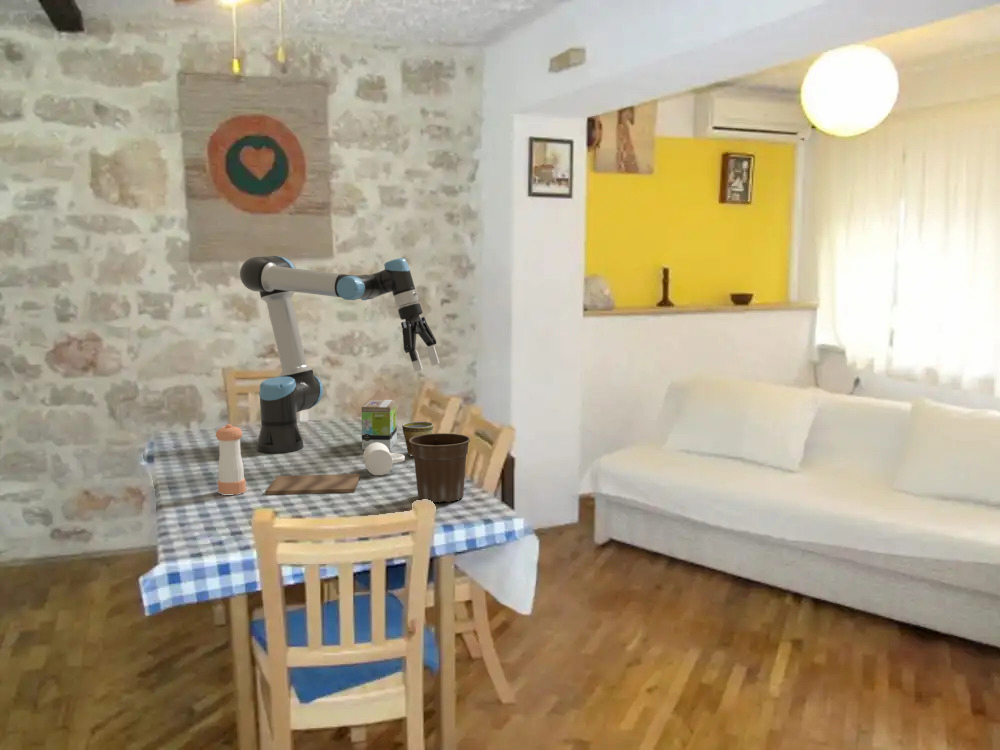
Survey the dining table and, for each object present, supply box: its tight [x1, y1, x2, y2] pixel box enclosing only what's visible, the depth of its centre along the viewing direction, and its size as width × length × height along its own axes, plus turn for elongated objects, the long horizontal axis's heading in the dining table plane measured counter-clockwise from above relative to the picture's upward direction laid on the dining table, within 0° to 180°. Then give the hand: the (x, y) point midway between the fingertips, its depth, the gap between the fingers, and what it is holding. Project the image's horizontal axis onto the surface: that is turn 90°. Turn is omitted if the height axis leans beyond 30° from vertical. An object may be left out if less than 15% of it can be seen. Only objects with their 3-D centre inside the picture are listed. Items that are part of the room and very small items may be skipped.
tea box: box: [361, 399, 398, 451], centre depth 299 cm, size 15×10×15 cm, turn 179°
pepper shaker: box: [215, 423, 247, 494], centre depth 243 cm, size 7×7×19 cm
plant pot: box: [409, 432, 471, 504], centre depth 236 cm, size 16×16×16 cm
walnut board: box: [265, 473, 361, 495], centre depth 250 cm, size 24×16×1 cm, turn 93°
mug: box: [362, 442, 406, 476], centre depth 265 cm, size 12×10×8 cm
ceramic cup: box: [401, 421, 434, 456], centre depth 287 cm, size 13×10×10 cm
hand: (427, 367), depth 290 cm, fingers open, 13 cm apart
